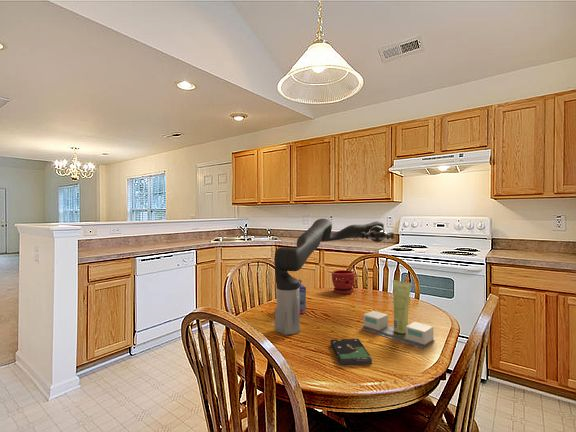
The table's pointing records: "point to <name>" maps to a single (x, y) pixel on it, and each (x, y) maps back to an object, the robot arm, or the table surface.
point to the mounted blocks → (413, 330)
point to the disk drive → (350, 352)
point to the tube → (401, 305)
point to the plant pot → (343, 281)
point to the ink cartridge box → (302, 298)
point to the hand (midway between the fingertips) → (377, 236)
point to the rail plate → (395, 336)
